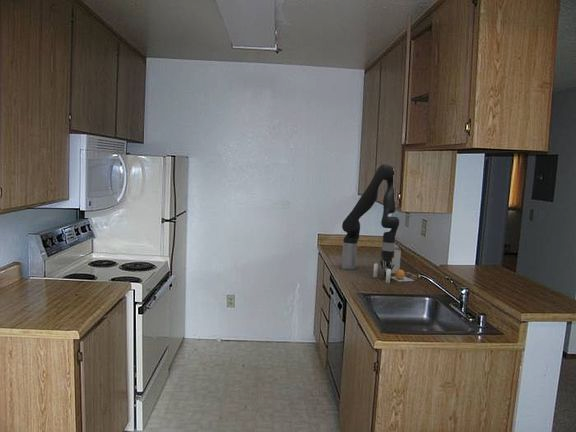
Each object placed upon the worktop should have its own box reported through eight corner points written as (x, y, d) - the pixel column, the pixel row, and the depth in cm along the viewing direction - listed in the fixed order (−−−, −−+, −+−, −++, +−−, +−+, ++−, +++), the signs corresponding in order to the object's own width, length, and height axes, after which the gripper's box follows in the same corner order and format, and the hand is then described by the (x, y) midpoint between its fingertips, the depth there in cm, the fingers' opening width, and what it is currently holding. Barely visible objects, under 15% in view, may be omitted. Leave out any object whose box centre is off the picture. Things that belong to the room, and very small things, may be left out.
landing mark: (389, 277, 298) (389, 276, 298) (404, 276, 302) (404, 276, 302) (398, 281, 288) (398, 281, 288) (414, 280, 291) (414, 280, 291)
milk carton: (389, 273, 307) (391, 244, 305) (384, 271, 314) (386, 242, 312) (399, 273, 309) (401, 244, 307) (393, 271, 316) (396, 242, 314)
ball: (403, 277, 297) (396, 282, 295) (397, 268, 298) (391, 273, 295) (408, 275, 292) (402, 280, 289) (403, 266, 292) (396, 271, 290)
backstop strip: (405, 276, 301) (405, 272, 301) (407, 276, 302) (408, 272, 302) (414, 280, 292) (414, 275, 292) (416, 280, 293) (417, 275, 292)
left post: (372, 276, 298) (373, 263, 297) (376, 276, 299) (377, 263, 298) (374, 277, 296) (375, 264, 295) (378, 277, 297) (379, 264, 296)
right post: (384, 282, 284) (385, 268, 283) (388, 282, 285) (389, 268, 284) (386, 283, 282) (388, 269, 281) (390, 283, 282) (391, 269, 282)
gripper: (377, 247, 294) (375, 275, 296) (388, 251, 282) (385, 280, 284) (387, 247, 297) (385, 275, 299) (399, 251, 284) (397, 280, 286)
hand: (385, 277), depth 291 cm, fingers closed
